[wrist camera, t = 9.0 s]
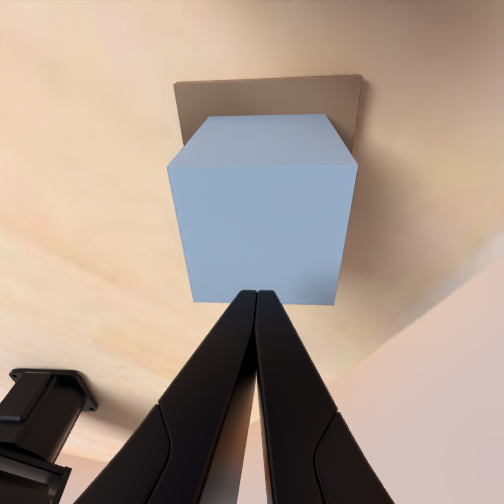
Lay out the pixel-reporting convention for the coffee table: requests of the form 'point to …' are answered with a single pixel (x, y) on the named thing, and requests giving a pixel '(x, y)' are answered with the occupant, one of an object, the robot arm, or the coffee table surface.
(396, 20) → the coffee table surface
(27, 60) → the coffee table surface
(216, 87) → the brown square stand
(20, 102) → the coffee table surface
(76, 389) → the robot arm
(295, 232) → the pale blue foam brick
